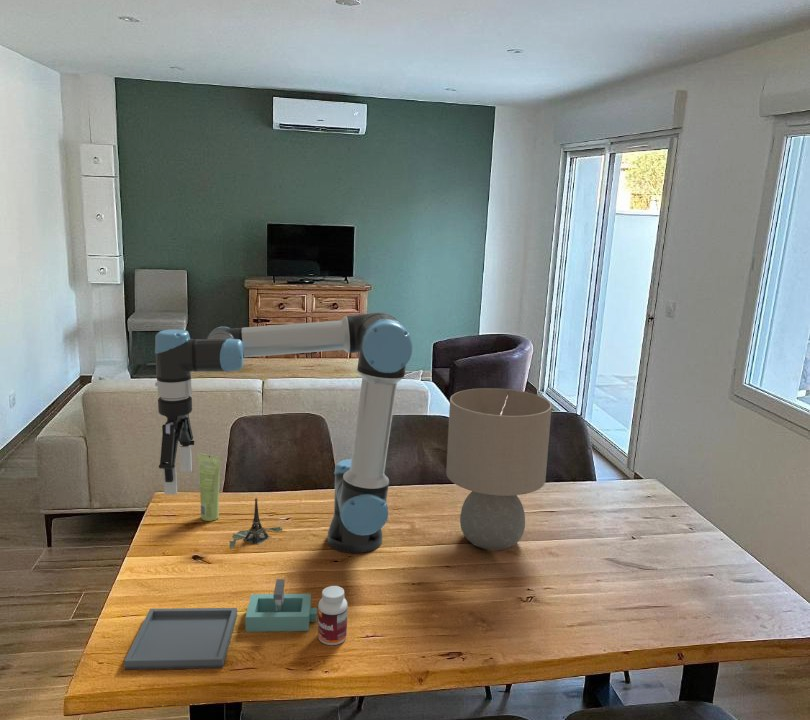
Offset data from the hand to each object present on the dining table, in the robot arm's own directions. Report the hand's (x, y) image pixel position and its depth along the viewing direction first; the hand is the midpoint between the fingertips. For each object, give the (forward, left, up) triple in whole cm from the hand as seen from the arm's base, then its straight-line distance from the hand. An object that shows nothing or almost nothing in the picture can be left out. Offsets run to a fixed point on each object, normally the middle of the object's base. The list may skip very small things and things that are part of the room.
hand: (178, 482), depth 166 cm
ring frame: (-26, +19, -25) cm, 40 cm away
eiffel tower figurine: (-16, -20, -25) cm, 36 cm away
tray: (-7, +26, -25) cm, 37 cm away
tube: (-1, -32, -25) cm, 41 cm away
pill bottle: (-38, +26, -25) cm, 52 cm away
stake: (-26, +19, -25) cm, 40 cm away
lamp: (-81, -17, -25) cm, 86 cm away
